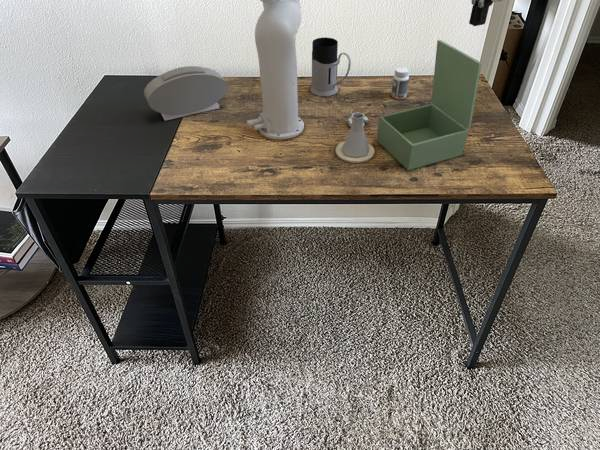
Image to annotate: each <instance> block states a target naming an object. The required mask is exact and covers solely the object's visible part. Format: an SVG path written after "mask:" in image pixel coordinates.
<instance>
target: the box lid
mask: <svg viewBox="0 0 600 450" xmlns="http://www.w3.org/2000/svg"><path fill="white" fill-rule="evenodd" d="M434 60H435V62H434V72H433V73H434V74H433V82H432V92H431V93H432V94H431V100H430V104H433V105H434V106H436V107H437V108H438V109H440V110H441V111H442V112H444V113H445V114H446V115H448V116H449V117H451V118H452V119H453V120H455V121H456V122H457V123H459V124H460V125H462V126H463V127H464V128H466V129H467V130H470V129H471V126H472V121H473V115H474V110H475V104H476V99H477V94H478V93H477V92H478V88H479V81H480V75H481V70H482V62H481V61H479V60H477V59H476V58H475V57H472V56H470V55H468V54H466V53H464V52H463V51H461V50H460V49H458V48H456V47H454V46H452V45H450V44H449V43H447V42H445V41H443V40H442V39H437V42H436V51H435V59H434Z"/></svg>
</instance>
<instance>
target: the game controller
mask: <svg viewBox="0 0 600 450" xmlns="http://www.w3.org/2000/svg"><path fill="white" fill-rule="evenodd" d="M340 111H341V113H342V114H343V115H345V116H347V115H348V116H350V114H349V113H346V114H344V112H343V111H342V110H341V109H340V110H339V112H340ZM368 121H369V118H368V117H367V116H366V115H365V116H364V119H363V128H364V129H365V124H368ZM347 124H348V127H350V128H351V125H352V117H351V116H350V117H349V118H348V119H347Z"/></svg>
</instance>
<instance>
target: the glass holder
mask: <svg viewBox="0 0 600 450" xmlns="http://www.w3.org/2000/svg"><path fill="white" fill-rule="evenodd" d="M311 44H312V46H311V47H312V50H311V87H310V92H311V94H313V95H315V96H318V97H330V96H335V95H336V94H337V93H338V91H339V88H338V84H339V83H341V82H342V81H344V80H345V79H347V77H348V75H349V73H350V70H351V64H352V61H351V57H350V55H349V54H348V53H347V52H341V53H340V54H339V55H338V47H339V41H338V40H337V39H336V38H333V37H327V36H326V37H318V38H315V39H314V40H312V43H311ZM343 55H344V56H345V57H347V60H348V67H347V70H346V73H345V75H344V76H343V78H342V79H340V80H338V66H339V65H340V62H341V56H343Z"/></svg>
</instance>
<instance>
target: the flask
mask: <svg viewBox="0 0 600 450" xmlns="http://www.w3.org/2000/svg"><path fill="white" fill-rule="evenodd" d="M364 116H366V115H365V114H364V112H359V111H355V112H352V113H351V115H350V117H352V125H351V127H350V129H349V131H348V133H347V136H346V138H345V140H344V141H345V143H344V145H343V147H342V151H343V152H344V154H345V155H347V156H353V157H360V156H365V155H367V154H368V152H369V145H368V143H369V142H368V139H367V136H366V133H365V127H364V128H363V119H364Z"/></svg>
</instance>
